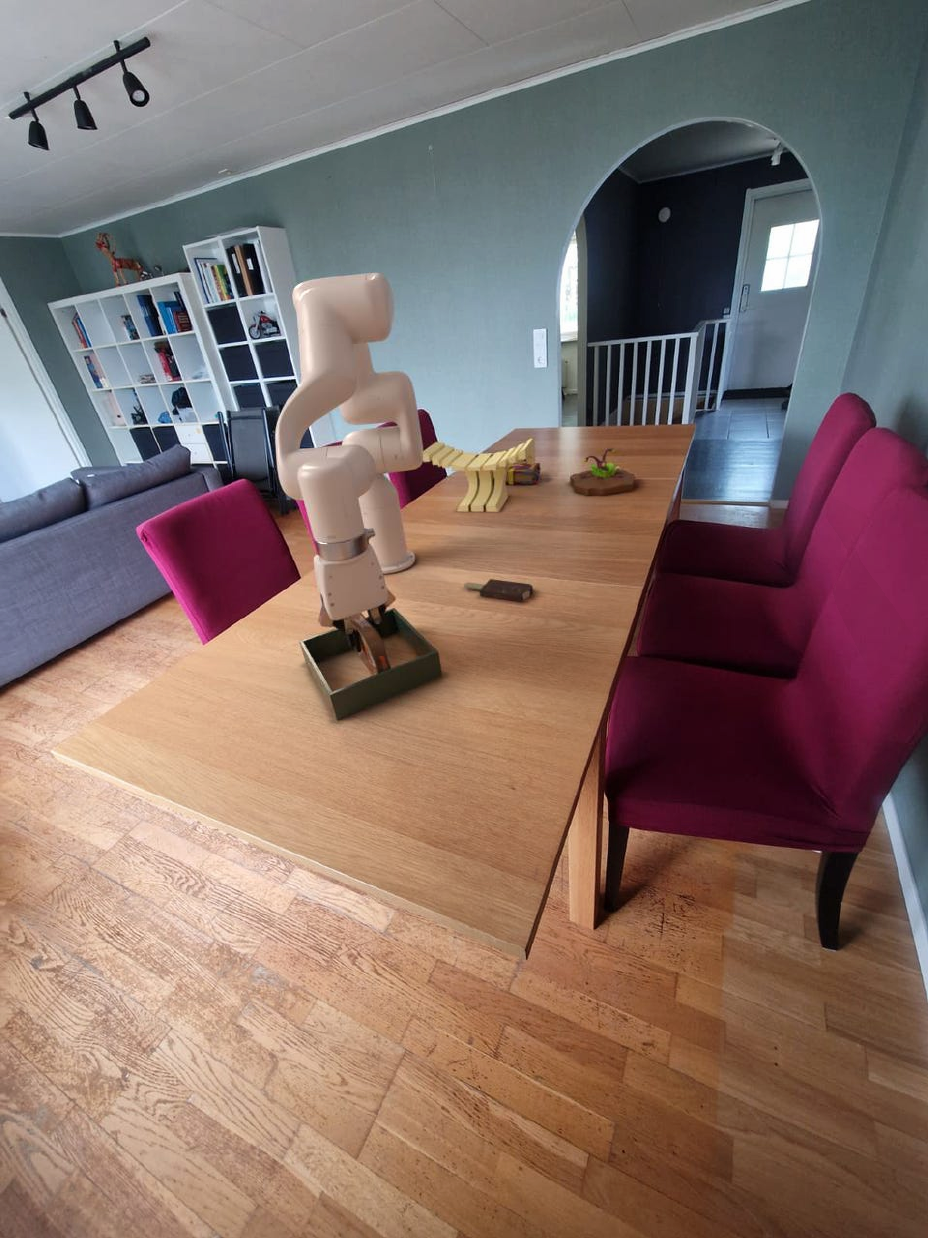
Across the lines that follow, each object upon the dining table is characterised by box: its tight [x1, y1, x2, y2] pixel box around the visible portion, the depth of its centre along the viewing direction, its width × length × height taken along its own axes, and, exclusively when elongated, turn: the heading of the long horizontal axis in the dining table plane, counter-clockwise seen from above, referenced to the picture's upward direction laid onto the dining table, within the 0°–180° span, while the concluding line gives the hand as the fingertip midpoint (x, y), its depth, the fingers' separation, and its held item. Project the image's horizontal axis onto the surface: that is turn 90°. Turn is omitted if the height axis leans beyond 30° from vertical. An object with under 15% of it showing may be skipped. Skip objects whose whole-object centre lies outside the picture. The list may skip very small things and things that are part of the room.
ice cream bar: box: [463, 578, 534, 603], centre depth 107 cm, size 5×2×15 cm
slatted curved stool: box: [422, 437, 536, 513], centre depth 154 cm, size 30×16×18 cm, turn 74°
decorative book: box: [505, 462, 542, 485], centre depth 175 cm, size 11×16×5 cm
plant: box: [569, 448, 637, 496], centre depth 159 cm, size 20×20×11 cm
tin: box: [351, 612, 392, 676], centre depth 86 cm, size 15×3×8 cm, turn 30°
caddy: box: [298, 607, 443, 722], centre depth 87 cm, size 18×18×5 cm
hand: (366, 644), depth 86 cm, fingers closed on tin, 2 cm apart
